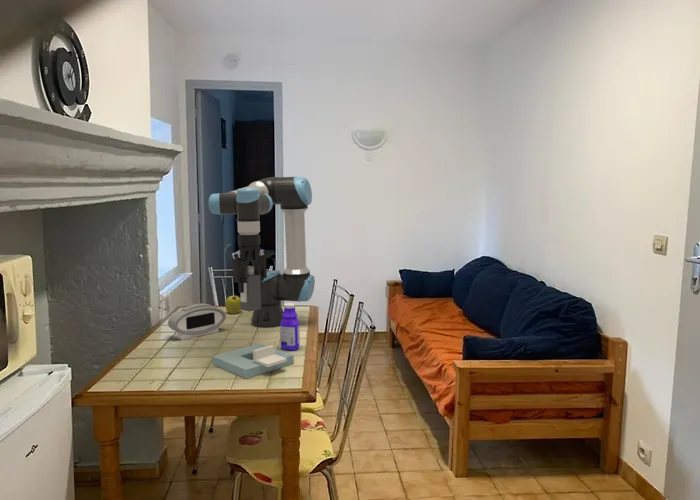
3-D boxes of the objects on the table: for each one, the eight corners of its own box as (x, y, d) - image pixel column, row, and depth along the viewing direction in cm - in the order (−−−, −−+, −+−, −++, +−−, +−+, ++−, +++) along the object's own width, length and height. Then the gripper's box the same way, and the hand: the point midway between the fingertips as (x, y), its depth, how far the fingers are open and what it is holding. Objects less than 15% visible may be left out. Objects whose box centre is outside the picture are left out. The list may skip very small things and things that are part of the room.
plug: (252, 307, 196) (251, 265, 195) (261, 309, 193) (260, 266, 191) (240, 309, 193) (239, 266, 191) (249, 311, 189) (247, 268, 188)
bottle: (302, 347, 213) (301, 302, 210) (296, 351, 207) (294, 306, 205) (284, 345, 215) (283, 301, 213) (278, 349, 210) (277, 304, 207)
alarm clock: (175, 342, 221) (173, 310, 220) (168, 338, 226) (166, 308, 224) (226, 330, 237) (225, 301, 235) (219, 327, 241) (218, 299, 240)
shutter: (272, 356, 193) (271, 344, 192) (286, 361, 187) (286, 349, 187) (253, 361, 187) (252, 350, 187) (267, 367, 182) (267, 355, 181)
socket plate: (259, 351, 208) (259, 343, 208) (293, 363, 194) (293, 355, 194) (212, 364, 194) (212, 356, 194) (246, 378, 180) (245, 369, 180)
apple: (226, 308, 271) (231, 289, 270) (241, 313, 271) (246, 294, 269) (220, 312, 264) (226, 293, 262) (236, 317, 263) (241, 298, 261)
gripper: (263, 231, 199) (265, 295, 201) (219, 234, 186) (222, 302, 189) (276, 232, 193) (278, 298, 196) (232, 236, 181) (234, 306, 183)
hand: (250, 300), depth 192 cm, fingers closed on plug, 5 cm apart
